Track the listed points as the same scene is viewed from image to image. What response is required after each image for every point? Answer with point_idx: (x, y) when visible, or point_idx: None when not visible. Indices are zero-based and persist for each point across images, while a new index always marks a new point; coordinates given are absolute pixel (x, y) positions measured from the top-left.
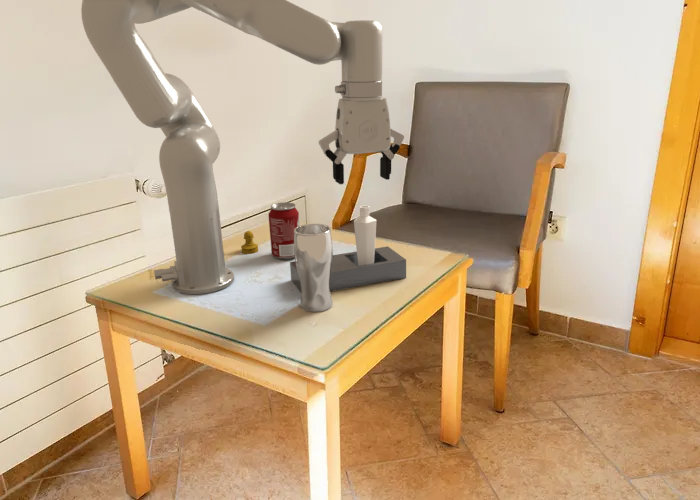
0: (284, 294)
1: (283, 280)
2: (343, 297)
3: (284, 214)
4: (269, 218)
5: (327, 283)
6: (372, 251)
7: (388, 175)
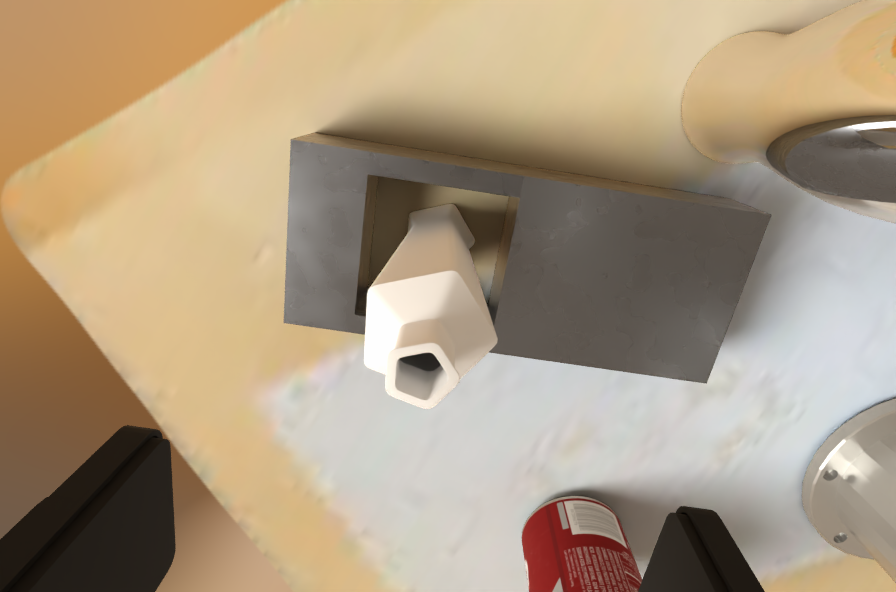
0: (767, 254)
1: None
2: (620, 106)
3: None
4: None
5: (785, 36)
6: (415, 238)
7: (115, 450)
